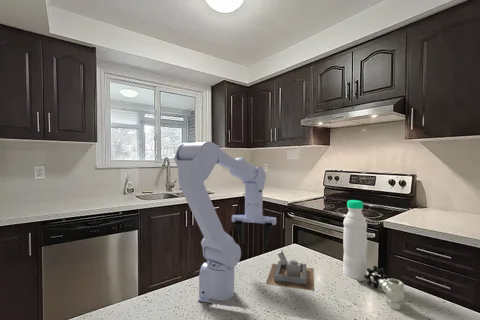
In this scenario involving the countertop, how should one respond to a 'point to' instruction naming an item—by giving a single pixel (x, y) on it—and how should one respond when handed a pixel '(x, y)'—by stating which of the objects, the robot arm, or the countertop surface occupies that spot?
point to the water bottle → (355, 242)
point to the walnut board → (284, 272)
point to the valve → (388, 288)
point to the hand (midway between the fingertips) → (253, 244)
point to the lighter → (290, 265)
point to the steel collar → (290, 279)
